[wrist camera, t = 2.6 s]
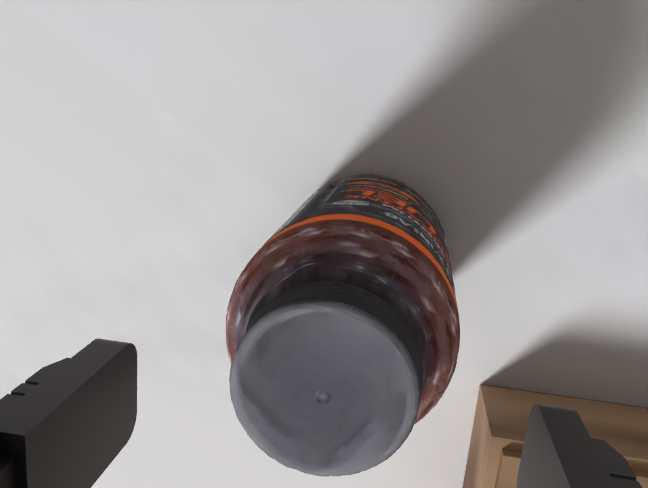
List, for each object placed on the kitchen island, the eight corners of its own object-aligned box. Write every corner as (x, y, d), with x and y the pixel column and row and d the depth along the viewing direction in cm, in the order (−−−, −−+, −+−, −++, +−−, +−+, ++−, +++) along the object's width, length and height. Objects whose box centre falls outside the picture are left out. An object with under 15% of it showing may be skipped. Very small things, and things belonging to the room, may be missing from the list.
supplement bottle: (474, 209, 22) (533, 335, 11) (406, 344, 24) (400, 565, 13) (324, 144, 22) (239, 207, 11) (267, 283, 24) (148, 452, 13)
